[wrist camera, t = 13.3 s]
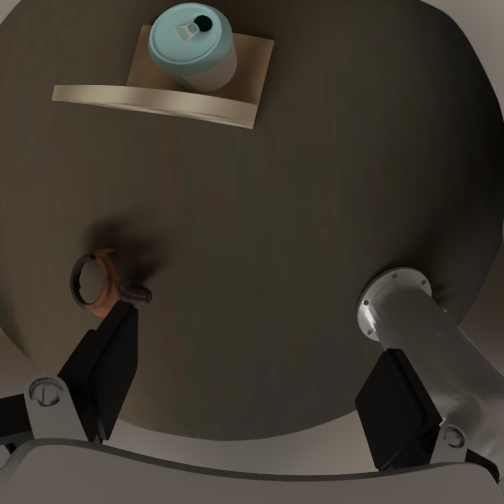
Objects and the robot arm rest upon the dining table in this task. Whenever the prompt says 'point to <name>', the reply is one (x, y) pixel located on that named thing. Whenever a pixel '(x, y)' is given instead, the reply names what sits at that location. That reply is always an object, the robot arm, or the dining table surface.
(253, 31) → the dining table surface
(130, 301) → the vr controller
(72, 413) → the robot arm
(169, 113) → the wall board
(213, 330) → the dining table surface
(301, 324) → the dining table surface
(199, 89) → the can
